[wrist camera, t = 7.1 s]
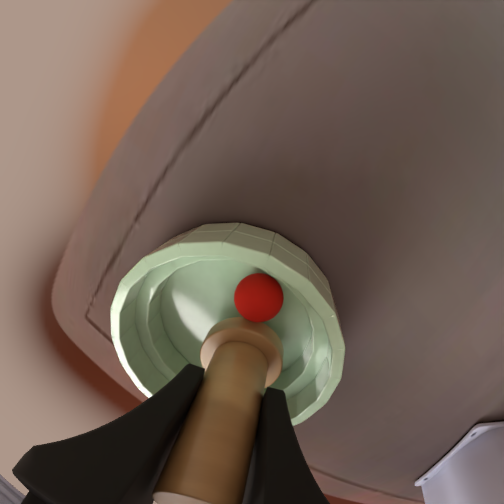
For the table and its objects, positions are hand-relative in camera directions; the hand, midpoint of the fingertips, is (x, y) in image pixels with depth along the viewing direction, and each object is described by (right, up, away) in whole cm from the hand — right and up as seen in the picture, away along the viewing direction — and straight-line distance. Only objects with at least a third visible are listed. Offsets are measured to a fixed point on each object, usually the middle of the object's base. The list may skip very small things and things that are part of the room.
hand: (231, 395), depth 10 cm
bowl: (0, +2, +4) cm, 5 cm away
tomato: (+1, +4, +2) cm, 4 cm away
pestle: (0, +1, +3) cm, 3 cm away
